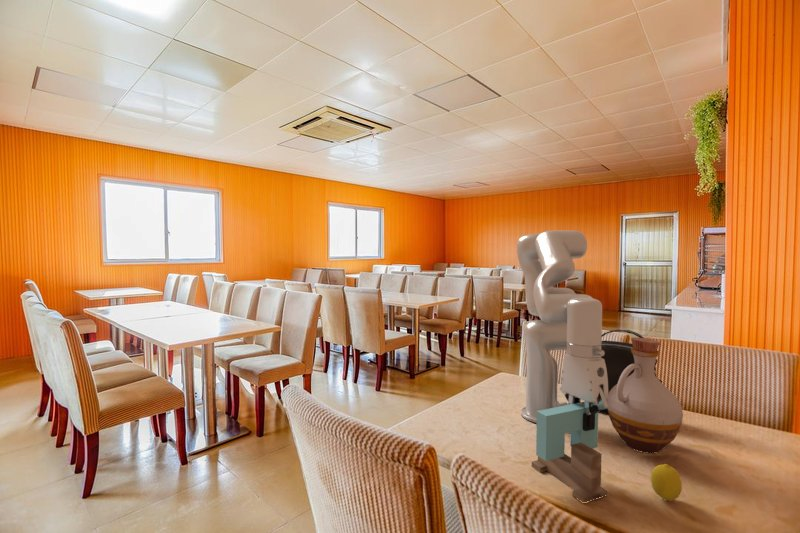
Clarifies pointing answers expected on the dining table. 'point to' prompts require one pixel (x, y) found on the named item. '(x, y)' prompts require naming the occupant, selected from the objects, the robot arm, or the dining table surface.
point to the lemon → (666, 482)
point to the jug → (644, 403)
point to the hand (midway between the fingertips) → (582, 425)
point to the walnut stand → (577, 471)
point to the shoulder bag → (617, 359)
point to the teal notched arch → (562, 430)
